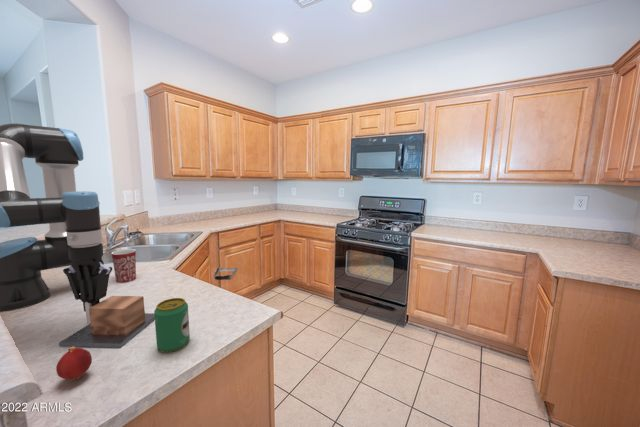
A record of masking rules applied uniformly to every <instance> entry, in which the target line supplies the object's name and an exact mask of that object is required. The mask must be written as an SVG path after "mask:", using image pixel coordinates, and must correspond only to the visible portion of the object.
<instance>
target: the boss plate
mask: <svg viewBox="0 0 640 427" xmlns="http://www.w3.org/2000/svg"><path fill="white" fill-rule="evenodd" d="M153 322H155V315H154V312H153V313H146V312H145V321H144V322H142V323H141V324H140V325H139V326H137V327H136V328H135V329H133V330H132V331H131V332H130V333H128V334H127V335H92V332H91V324H86V326H84V327H82V328H81V329H80V328H79V329H78V330H77V331H75V332H74V333H72V334H70V335H69V336H68V337H66V338H64V339H62V340H60V341H59V342H58V347H59V346H72V347H76V348H113V349H114V348H115V349H116V348H117V349H119V348H120V349H121V348H122V347H124V346H125V345H126V344H127V343H129V342H130V340H133V339H134V338H135V337H136V336H137V335H138V334H140V333H141V332H142V331H143V330H144V329H146V328H147V327H148V326H149V325H150V324H151V323H153Z"/></svg>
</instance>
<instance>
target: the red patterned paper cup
mask: <svg viewBox="0 0 640 427" xmlns="http://www.w3.org/2000/svg"><path fill="white" fill-rule="evenodd" d="M110 255H111V257H112V264H113V271H114V276H115V282H116V283H117V284H123V283H124V284H125V283H130V282H133V281H134V280H136V279H137V267H136V266H137V264H136V263H137V249H136V248H135V249H134V248H122V249H117V250H114V251H112V252H110Z"/></svg>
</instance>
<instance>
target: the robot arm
mask: <svg viewBox="0 0 640 427" xmlns="http://www.w3.org/2000/svg"><path fill="white" fill-rule="evenodd" d="M24 158H27V159H34V160H35V164H36V165H37V166H39V167H41V169H42V176H43V184H44V193H45V197H35V198H33V197H32V198H31V196H30V190H29V186H28V181H27V177H26V173H25V168H24V163H23V159H24ZM83 160H84V151H83V146H82V143H81V140H80V138H79V136H78V134H77V133H76V131H74V130H71V129H66V128H59V127H50V126H40V125H33V124H24V123H6V124H1V125H0V228H1V229H2V228H4V229H5V228H14V227H25V226H33V225H35V226H36V225H48V227H49V230H48V231H47V232H46V233H45V234H44V239H40V240H38V238H36V237H35V236H29V237H20V238H15V239H11V240H6V241H1V242H0V312H6V311H7V312H8V311H13V310H17V309H22V308H26V307H29V306H33V305H35V304H38V303H40V302H43V301H45V300H48V298H50V297H51V290H50V288H49V287H48V285H47V284H46V282H45V280H44V279H43V277H42V271H45V270H46V271H47V270H53V269H57V268H63V267H66V268H63V270H62V272H63V273H64V275H65V276H66V277H67V280H68V283H69V286H70V289H71V290H72V294H73V297H74V299H75V300H76V301H78V300H80V301H81V302H82V304H83V305H82V306H83V311H84V312H85V318H86V319H85V320H86V324H87V325H89V324H91V323H90V314H89V308H90V307H92V306H94V305H96V304H98V303H100V302H101V301H100V300H101V299H103V298H105V297H107V292H108V287H109V280H110V274H111V272H112V271H113V266H106V265H105V262H104V260H103V259H102V258H103V256H104V245H103V243H102V242H103V236H102V235H103V234H102V225H101V212H100V204H101V203H100V201H99V195H98V193H97V192H96V191H77V185H76V176H75V169H76V168H77V167H78V166H80V164H79V162H82V161H83Z"/></svg>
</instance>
